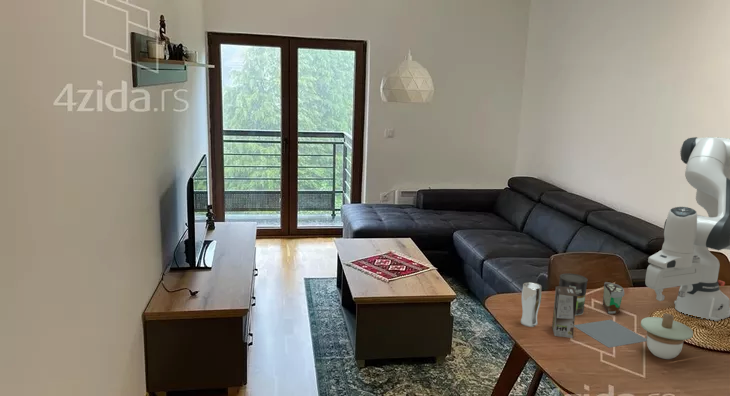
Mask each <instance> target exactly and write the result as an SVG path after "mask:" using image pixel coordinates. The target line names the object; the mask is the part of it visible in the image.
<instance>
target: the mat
mask: <svg viewBox="0 0 730 396" xmlns="http://www.w3.org/2000/svg"><path fill="white" fill-rule="evenodd" d="M574 328H575V329H577V330H579V331H581V332H582V333H584V334H586V335H587V336H589V337H590V338H592V339H594V340H595V341H597V342H598V343H600V344H602V345H604V346H605V347H606V348H609V349H610V348H615V347H621V346H627V345H632V344H633V345H634V344H638V343H639V344H640V343H644V342H647V337H644V336H642V335H640V334H638V333H636V332H634V331H633V330H631V329H629V328H627V327H625V326H623V325H622V324H619V322H616V321H614V320H613V319H607V320H599V321H591V322H586V323H580V324H579V323H578V324H574Z"/></svg>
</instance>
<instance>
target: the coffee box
mask: <svg viewBox="0 0 730 396" xmlns="http://www.w3.org/2000/svg"><path fill="white" fill-rule="evenodd" d="M554 292H555V293H554V302H553V313H552V314H553V316H552V324H551V325H552V332H553V335H554V336H555V337H560V338H568V339H569V338H570V339H573V338H574V337H573V336H574V329H575V327H574V325H575V320H576V315H575V312H576V304H577V297H578V296H577V294H576V292H575V290H574V288H573V287H560V286H559V285H558V286H555V291H554Z"/></svg>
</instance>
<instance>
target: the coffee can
mask: <svg viewBox="0 0 730 396" xmlns="http://www.w3.org/2000/svg"><path fill="white" fill-rule="evenodd" d="M588 280H589V279H588V278H587V277H586V276H584V275H581V274H577V273H561V274H559V282H558V283H559V284H558V286H560V287H573V288H574V290H575V292H576V294H577V296H578V297H577V304H576V312H575V316H581V315H583V314H584V312H585V311H584V310H585V303H586V302H585V301H586V294H587V285H588Z"/></svg>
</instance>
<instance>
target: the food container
mask: <svg viewBox="0 0 730 396" xmlns="http://www.w3.org/2000/svg"><path fill="white" fill-rule="evenodd" d="M624 296H625V290H624V288H623V287H622V286H621V285H619V284H616V283H613V282H607V281H604V284H603V297H602V306H603V307H604V309H605V311H606V312H607V314H608V315H616V314H618V313H620V309H621V306H622V305H621V304H622V299H623V297H624Z"/></svg>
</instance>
